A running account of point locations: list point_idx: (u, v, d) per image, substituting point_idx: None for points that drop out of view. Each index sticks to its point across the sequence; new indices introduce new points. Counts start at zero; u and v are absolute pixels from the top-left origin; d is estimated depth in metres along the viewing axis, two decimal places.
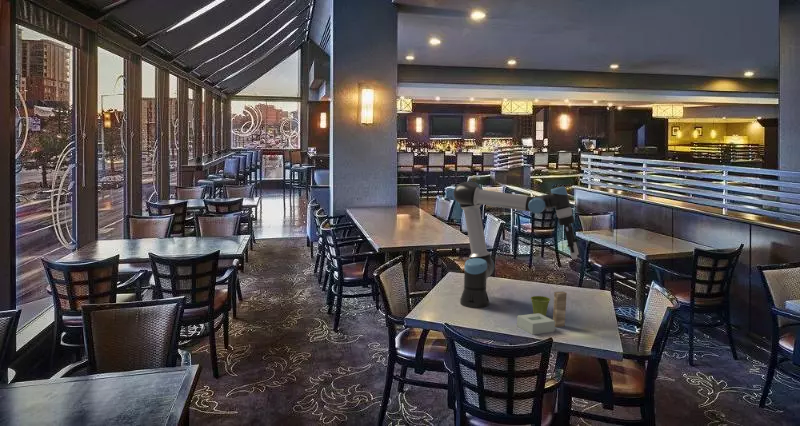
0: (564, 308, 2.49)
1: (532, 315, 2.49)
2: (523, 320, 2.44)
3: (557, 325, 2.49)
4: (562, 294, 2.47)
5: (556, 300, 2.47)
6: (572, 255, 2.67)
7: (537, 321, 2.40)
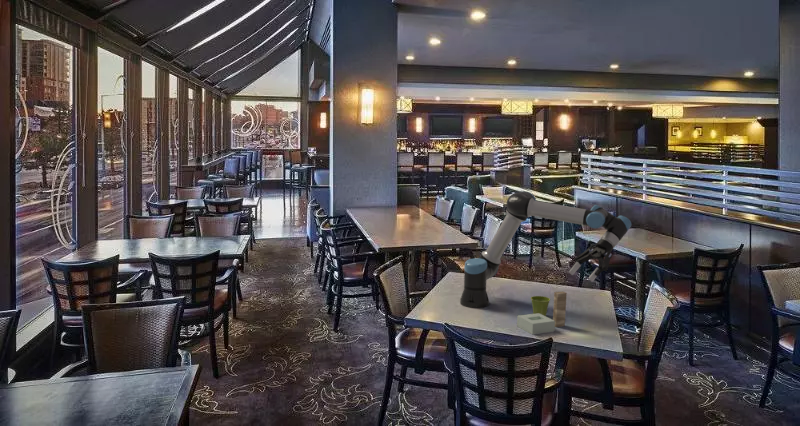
0: (564, 308, 2.49)
1: (532, 315, 2.49)
2: (523, 320, 2.44)
3: (557, 325, 2.49)
4: (562, 294, 2.47)
5: (556, 300, 2.47)
6: (592, 276, 2.45)
7: (537, 321, 2.40)
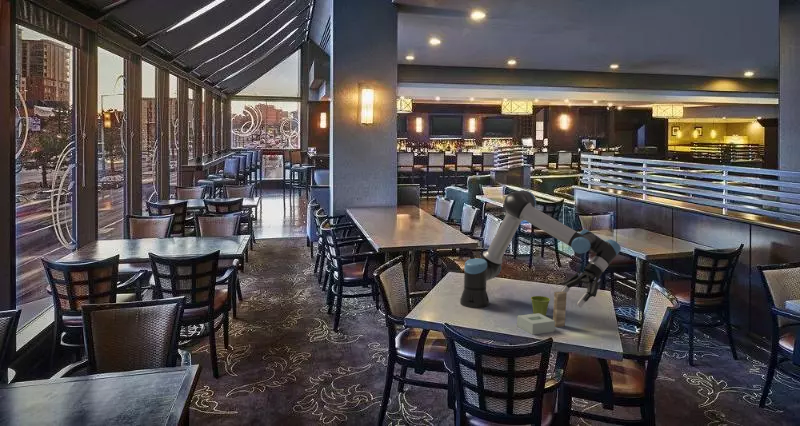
0: (564, 308, 2.49)
1: (532, 315, 2.49)
2: (523, 320, 2.44)
3: (557, 325, 2.49)
4: (562, 294, 2.47)
5: (556, 300, 2.47)
6: (581, 301, 2.43)
7: (537, 321, 2.40)
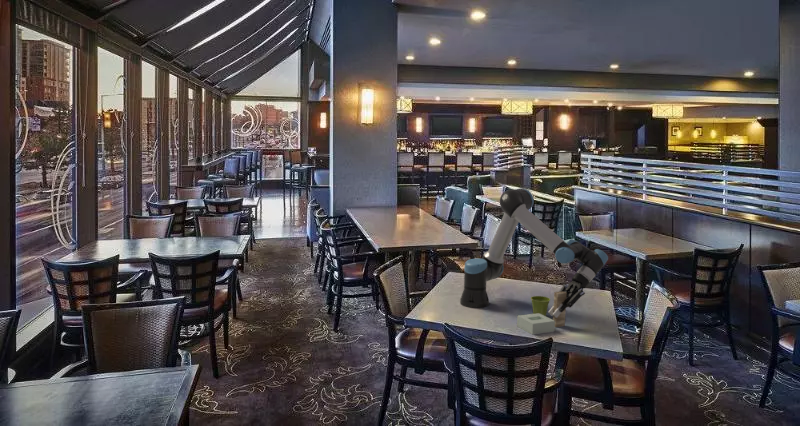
0: None
1: (532, 315, 2.49)
2: (523, 320, 2.44)
3: (557, 325, 2.49)
4: (562, 294, 2.47)
5: (556, 300, 2.47)
6: (556, 312, 2.47)
7: (537, 321, 2.40)
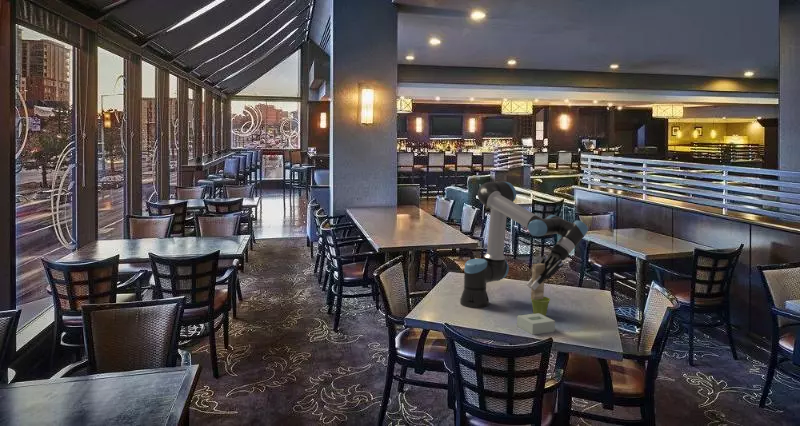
0: None
1: (532, 315, 2.49)
2: (523, 320, 2.44)
3: (535, 297, 2.42)
4: (540, 265, 2.41)
5: (534, 272, 2.41)
6: (535, 284, 2.40)
7: (537, 321, 2.40)
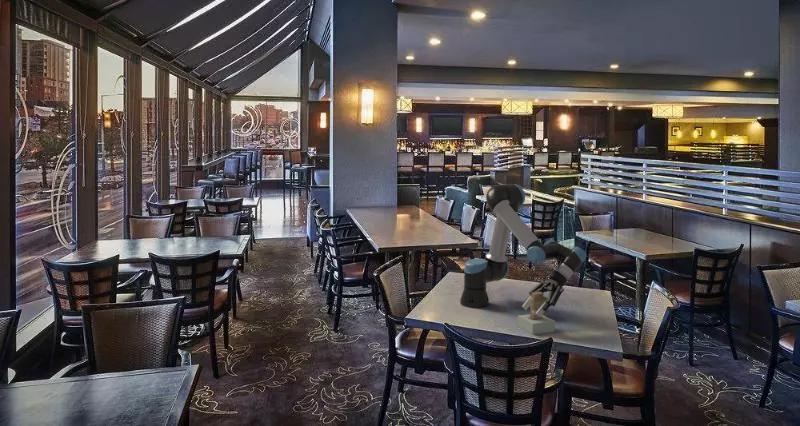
0: None
1: None
2: (523, 320, 2.44)
3: None
4: (539, 294, 2.43)
5: (533, 300, 2.42)
6: (540, 311, 2.38)
7: (537, 321, 2.40)
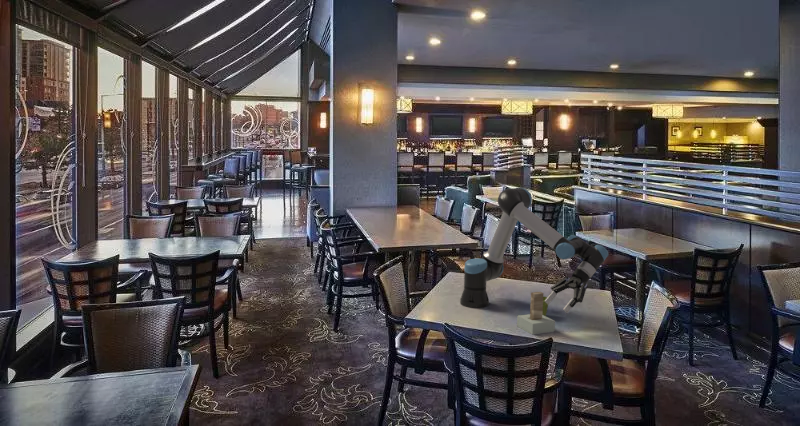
0: (541, 309, 2.44)
1: None
2: (523, 320, 2.44)
3: None
4: (539, 294, 2.43)
5: (533, 300, 2.42)
6: (567, 307, 2.42)
7: (537, 321, 2.40)
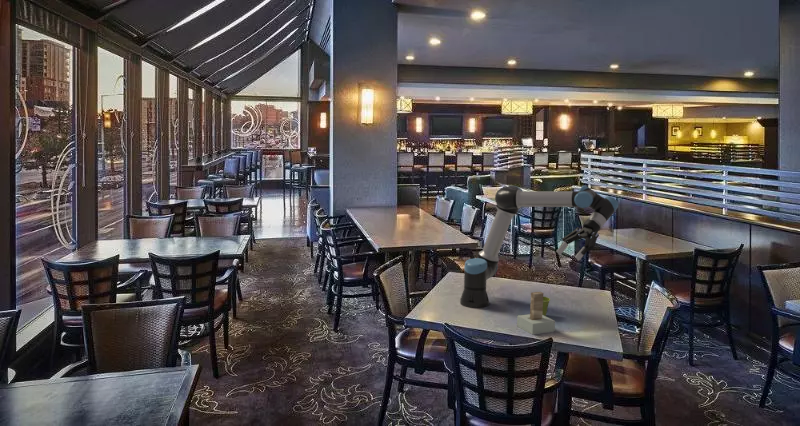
0: (541, 309, 2.44)
1: None
2: (523, 320, 2.44)
3: None
4: (539, 294, 2.43)
5: (533, 300, 2.42)
6: (579, 254, 2.48)
7: (537, 321, 2.40)
